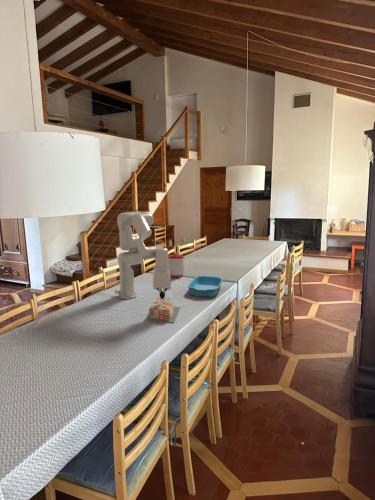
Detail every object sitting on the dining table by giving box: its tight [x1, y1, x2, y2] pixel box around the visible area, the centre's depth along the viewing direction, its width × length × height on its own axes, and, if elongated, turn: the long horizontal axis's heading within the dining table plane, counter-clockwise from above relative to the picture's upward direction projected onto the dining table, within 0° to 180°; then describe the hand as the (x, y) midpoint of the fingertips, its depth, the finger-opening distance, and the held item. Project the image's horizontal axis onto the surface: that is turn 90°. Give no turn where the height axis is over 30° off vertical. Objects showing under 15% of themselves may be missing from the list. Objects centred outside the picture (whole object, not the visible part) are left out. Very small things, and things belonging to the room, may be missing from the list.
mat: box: [149, 306, 181, 324], centre depth 219 cm, size 14×26×1 cm, turn 173°
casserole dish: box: [187, 275, 223, 298], centre depth 266 cm, size 37×22×7 cm, turn 166°
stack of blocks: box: [148, 297, 174, 320], centre depth 219 cm, size 21×6×12 cm
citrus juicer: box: [168, 252, 186, 278], centre depth 306 cm, size 16×17×20 cm
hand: (162, 298), depth 218 cm, fingers closed
